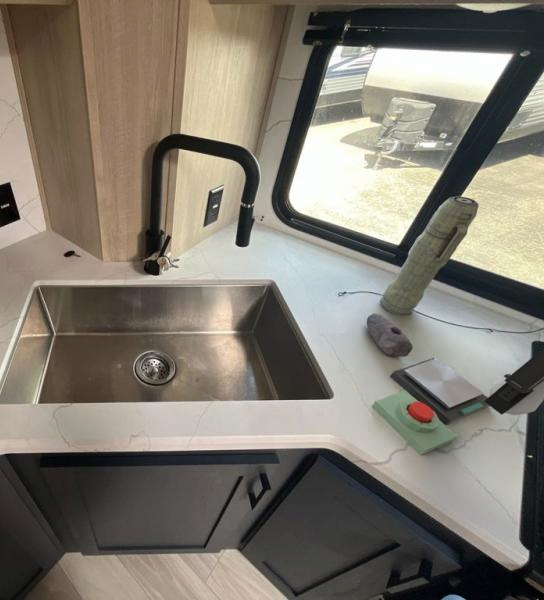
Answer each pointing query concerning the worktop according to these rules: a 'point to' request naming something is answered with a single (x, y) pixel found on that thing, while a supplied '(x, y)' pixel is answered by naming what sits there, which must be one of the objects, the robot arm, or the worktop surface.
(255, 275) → the worktop surface
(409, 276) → the thermos
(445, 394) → the scale pan
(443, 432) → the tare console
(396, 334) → the perforated stone tool
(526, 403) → the salt shaker
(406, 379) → the scale base
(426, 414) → the tare button
